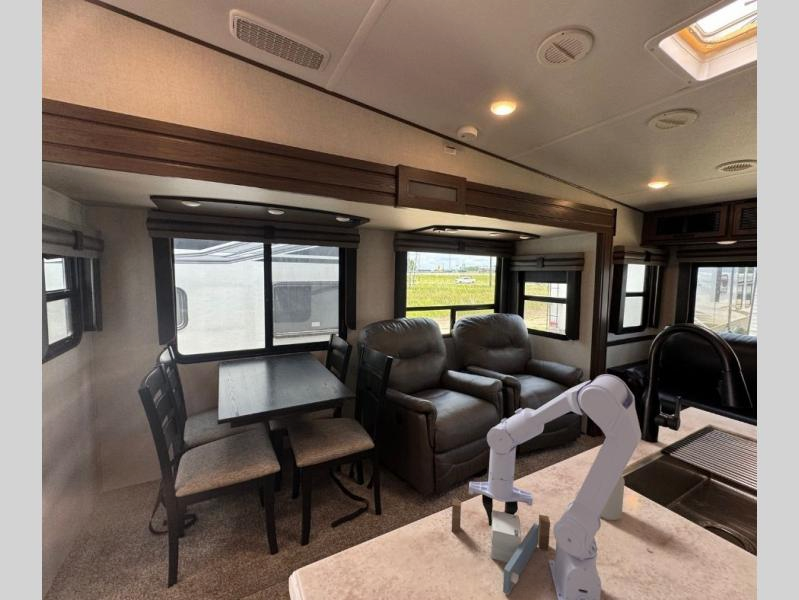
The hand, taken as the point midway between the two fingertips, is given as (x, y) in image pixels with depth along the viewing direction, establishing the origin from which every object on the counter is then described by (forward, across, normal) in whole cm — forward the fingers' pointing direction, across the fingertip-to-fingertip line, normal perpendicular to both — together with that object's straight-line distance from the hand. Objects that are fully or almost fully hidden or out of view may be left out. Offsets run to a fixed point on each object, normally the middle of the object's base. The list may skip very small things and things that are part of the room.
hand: (497, 524), depth 78 cm
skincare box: (+2, -1, +5) cm, 6 cm away
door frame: (+2, 0, +1) cm, 3 cm away
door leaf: (+2, -5, +9) cm, 10 cm away
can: (+2, -29, -15) cm, 32 cm away
